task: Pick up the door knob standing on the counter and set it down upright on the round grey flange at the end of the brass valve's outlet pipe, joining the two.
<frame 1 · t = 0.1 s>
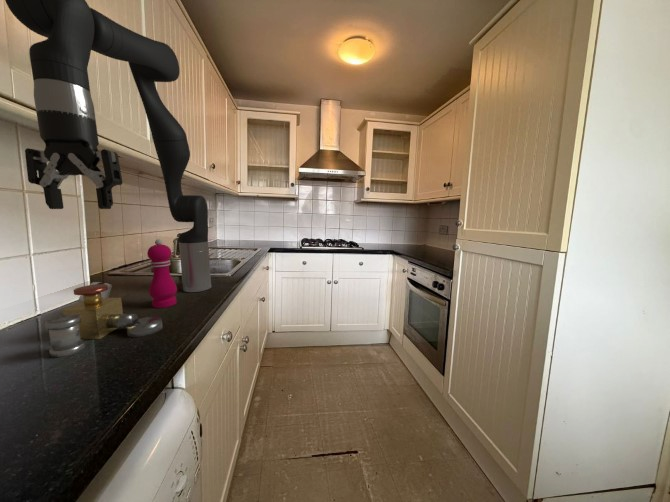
hand: (80, 209, 51), 29 cm above the table, tool pointing down, fingers open, 8 cm apart
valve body: (97, 331, 65), on the table
hinge: (93, 316, 75), on the table
pepper mill: (164, 305, 84), on the table
door knob: (68, 351, 57), on the table
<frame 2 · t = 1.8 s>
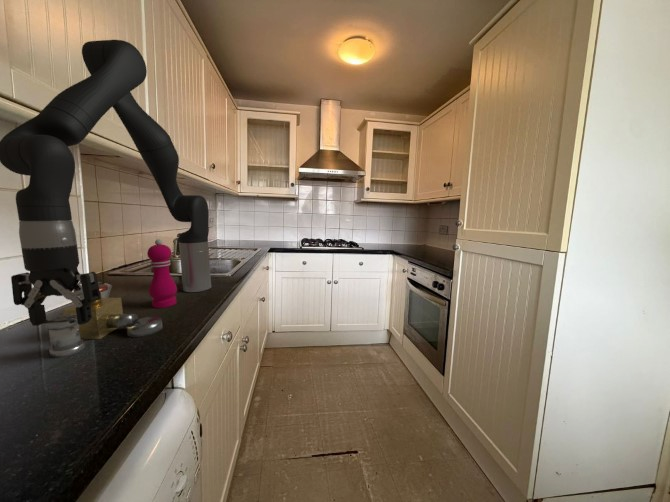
hand: (62, 323, 55), 6 cm above the table, tool pointing down, fingers open, 8 cm apart
nothing on the table moved.
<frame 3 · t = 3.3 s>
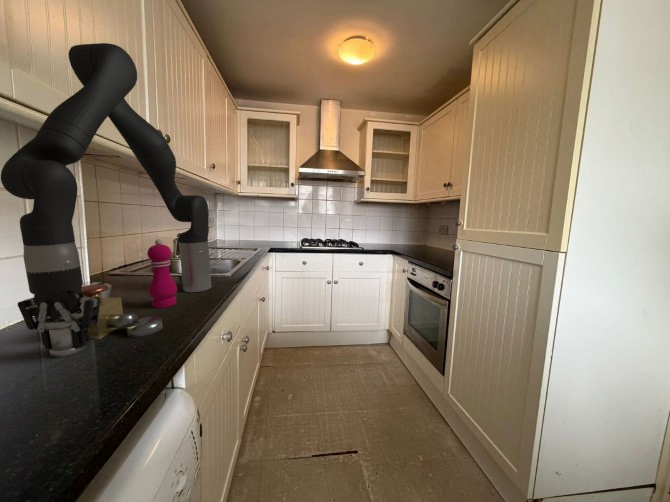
hand: (67, 346, 57), 1 cm above the table, tool pointing down, fingers closed on door knob, 5 cm apart
door knob: (68, 350, 57), on the table, touching gripper
everything else where it was.
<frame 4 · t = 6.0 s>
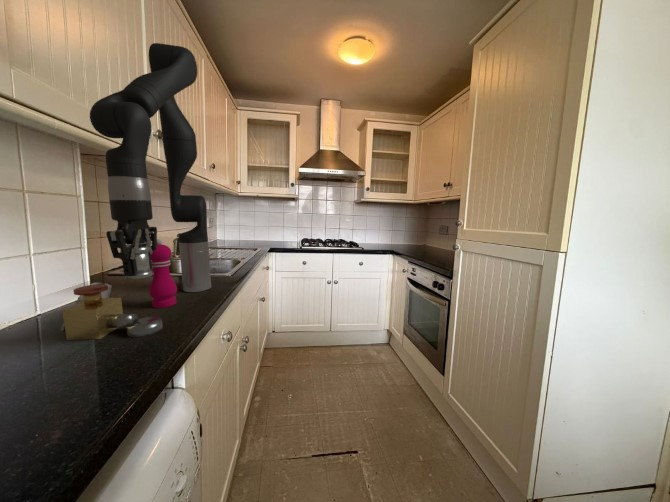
hand: (139, 272, 64), 14 cm above the table, tool pointing down, fingers closed on door knob, 5 cm apart
door knob: (139, 276, 64), point 13 cm above the table, touching gripper
everything else where it was.
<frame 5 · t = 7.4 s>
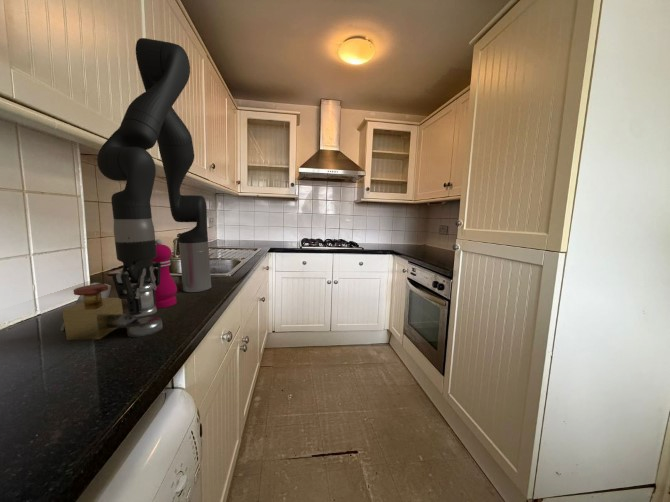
hand: (143, 309, 65), 5 cm above the table, tool pointing down, fingers closed on door knob, 5 cm apart
door knob: (143, 313, 65), point 4 cm above the table, touching gripper
everything else where it was.
when the fingers open (4 cm above the table, at t = 8.6 s): door knob drops 1 cm, resting on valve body.
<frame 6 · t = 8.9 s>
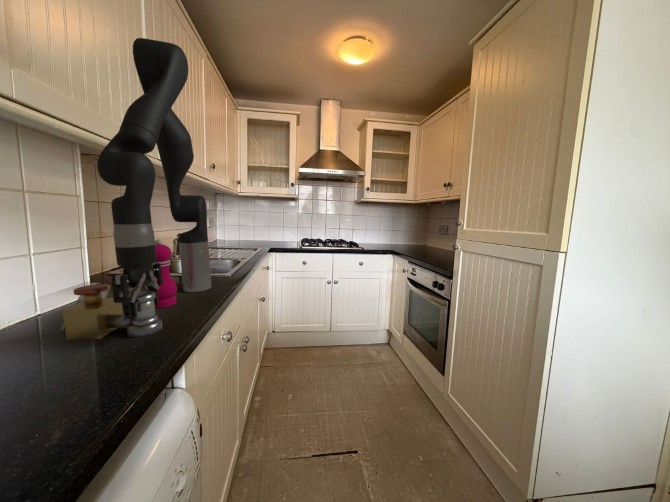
hand: (143, 311, 65), 5 cm above the table, tool pointing down, fingers open, 8 cm apart
door knob: (145, 322, 66), point 2 cm above the table, touching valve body
everything else where it was.
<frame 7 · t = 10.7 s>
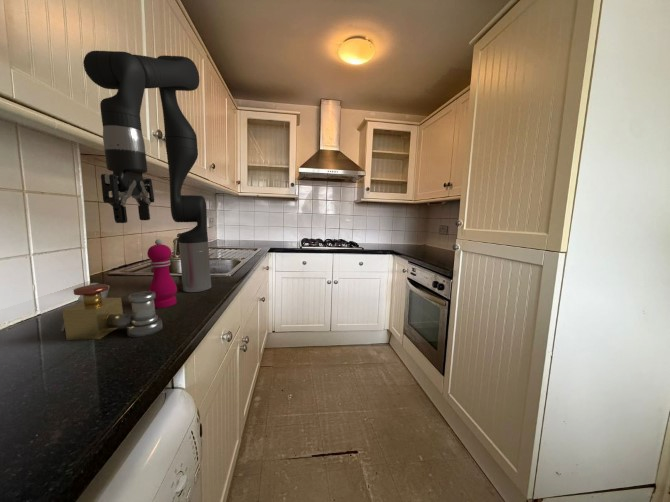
hand: (134, 221, 66), 26 cm above the table, tool pointing down, fingers open, 8 cm apart
nothing on the table moved.
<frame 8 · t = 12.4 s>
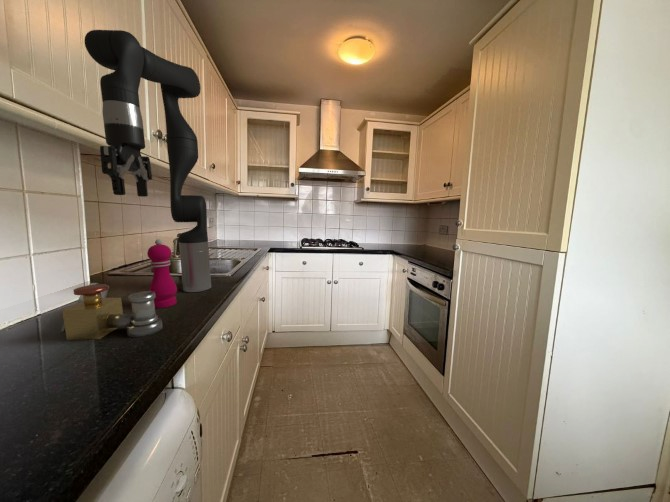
hand: (132, 195, 68), 32 cm above the table, tool pointing down, fingers open, 8 cm apart
nothing on the table moved.
at the end: door knob 0.2 cm from the target spot on the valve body, point 2.0 cm above the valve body's base; door knob tilted 0°; the gripper is holding nothing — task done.
